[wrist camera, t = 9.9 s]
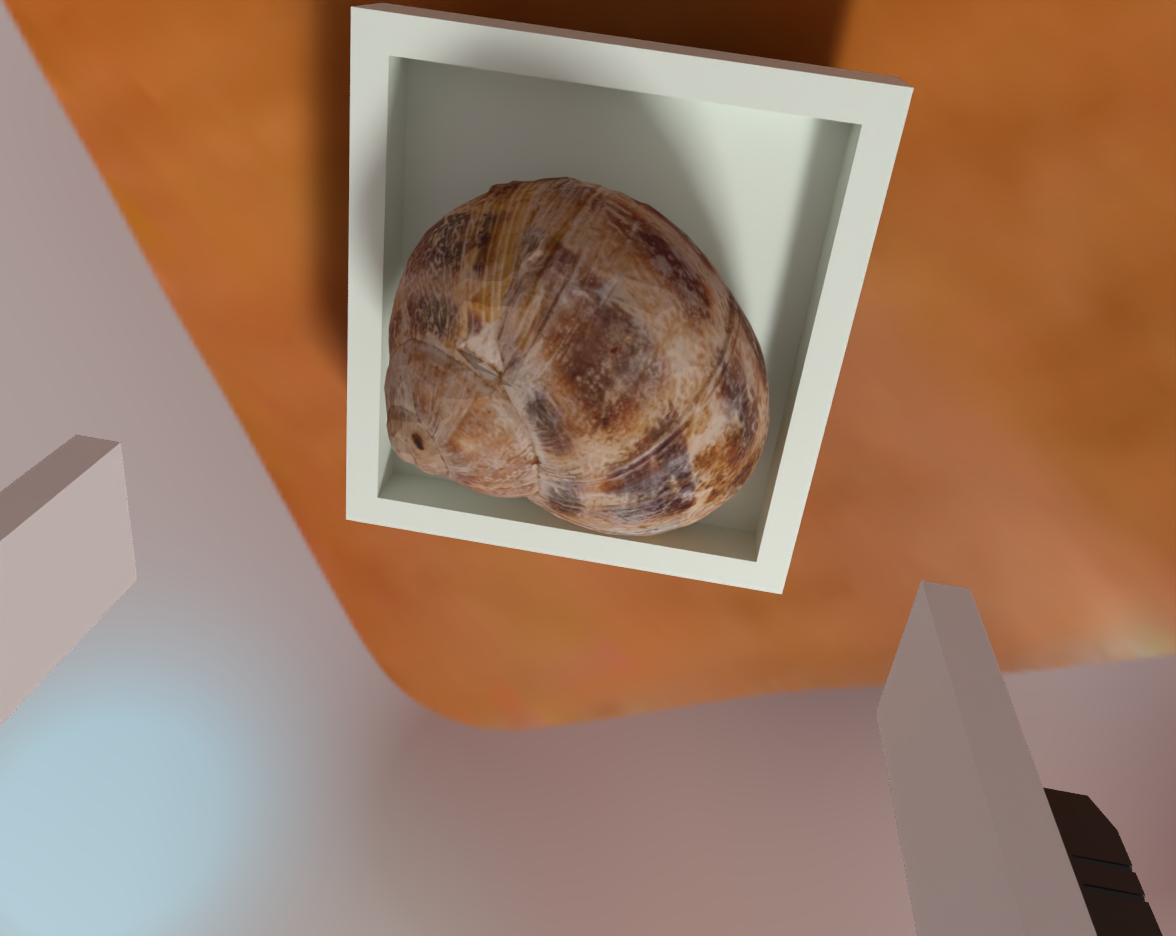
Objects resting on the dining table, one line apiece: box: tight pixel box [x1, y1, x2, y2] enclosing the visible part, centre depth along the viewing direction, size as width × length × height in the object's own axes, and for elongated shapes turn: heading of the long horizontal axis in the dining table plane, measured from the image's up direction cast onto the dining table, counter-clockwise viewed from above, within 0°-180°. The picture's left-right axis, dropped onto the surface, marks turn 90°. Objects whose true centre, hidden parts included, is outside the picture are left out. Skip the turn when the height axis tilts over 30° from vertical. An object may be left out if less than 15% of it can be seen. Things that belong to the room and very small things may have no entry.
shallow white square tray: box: [346, 3, 914, 594], centre depth 30 cm, size 15×14×5 cm
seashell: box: [384, 177, 770, 537], centre depth 27 cm, size 10×9×10 cm
